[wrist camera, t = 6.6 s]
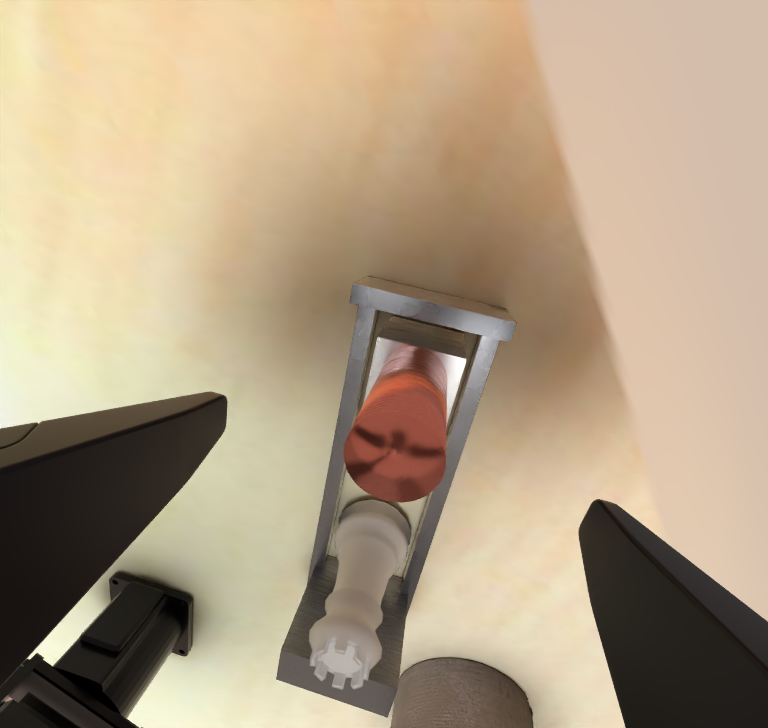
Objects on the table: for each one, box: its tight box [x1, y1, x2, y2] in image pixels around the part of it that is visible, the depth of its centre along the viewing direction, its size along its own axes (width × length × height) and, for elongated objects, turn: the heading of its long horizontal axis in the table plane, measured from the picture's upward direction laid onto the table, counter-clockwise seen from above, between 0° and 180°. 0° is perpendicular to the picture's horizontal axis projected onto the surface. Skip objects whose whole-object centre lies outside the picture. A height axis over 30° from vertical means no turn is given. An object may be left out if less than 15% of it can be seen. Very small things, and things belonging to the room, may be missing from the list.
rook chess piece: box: [309, 499, 411, 690], centre depth 19 cm, size 4×4×8 cm
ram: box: [343, 316, 467, 502], centre depth 14 cm, size 6×4×10 cm
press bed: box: [276, 276, 517, 717], centre depth 18 cm, size 21×7×6 cm, turn 168°
